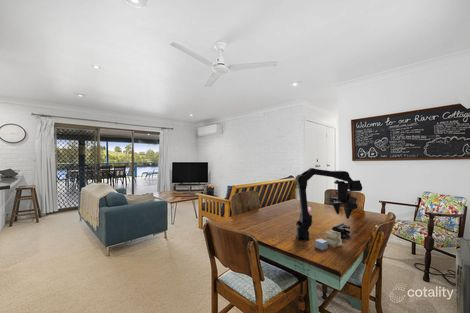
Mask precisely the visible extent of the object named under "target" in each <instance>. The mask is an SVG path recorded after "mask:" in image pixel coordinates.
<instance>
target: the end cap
mask: <svg viewBox="0 0 470 313" xmlns="http://www.w3.org/2000/svg"><path fill="white" fill-rule="evenodd" d="M350 229H351V227H350V225H345V224H344V223H343V222H342V223H339V224H336V225H335V226H333V227H331V230H333V231H336V232H340V233H341V240H344V239H346V238H348V237H350V235H351V230H350Z"/></svg>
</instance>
